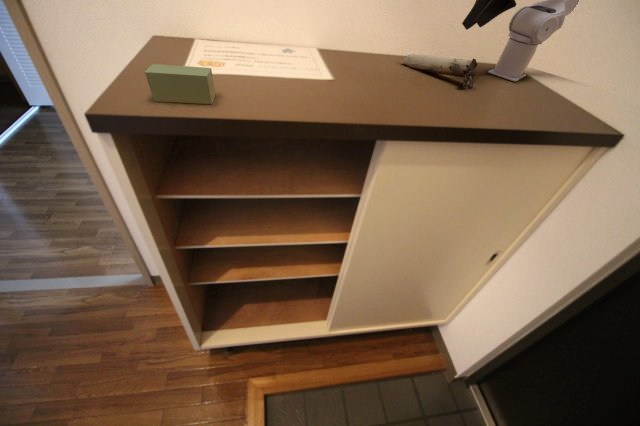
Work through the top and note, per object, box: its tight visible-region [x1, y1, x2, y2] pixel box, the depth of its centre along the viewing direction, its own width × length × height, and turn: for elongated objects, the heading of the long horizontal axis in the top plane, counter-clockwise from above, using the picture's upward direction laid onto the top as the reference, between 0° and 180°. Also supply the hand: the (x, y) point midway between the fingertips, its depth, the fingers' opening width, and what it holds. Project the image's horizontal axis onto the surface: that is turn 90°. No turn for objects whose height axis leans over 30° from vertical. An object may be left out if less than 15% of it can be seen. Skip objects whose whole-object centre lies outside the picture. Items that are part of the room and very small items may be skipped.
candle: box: [400, 53, 478, 90], centre depth 74 cm, size 6×20×6 cm, turn 36°
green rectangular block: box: [144, 63, 216, 105], centre depth 51 cm, size 4×10×5 cm, turn 95°
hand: (470, 25), depth 69 cm, fingers open, 7 cm apart
